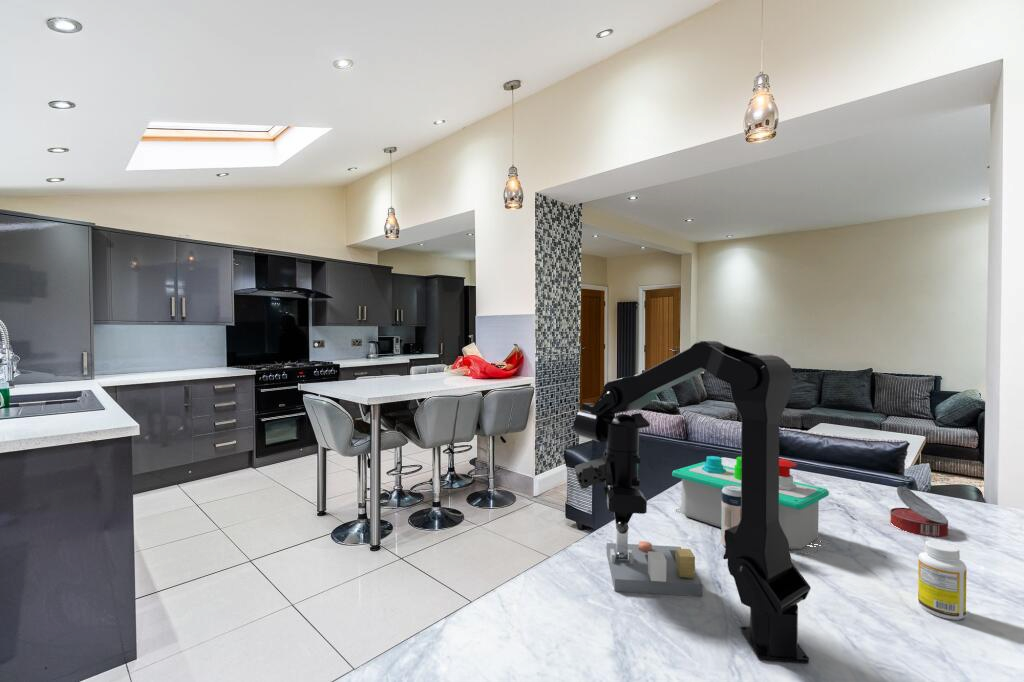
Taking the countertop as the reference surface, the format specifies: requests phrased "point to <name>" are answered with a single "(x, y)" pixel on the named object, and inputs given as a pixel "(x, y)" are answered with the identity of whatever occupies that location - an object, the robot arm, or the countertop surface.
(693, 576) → the brushed brass brick
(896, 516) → the canned food
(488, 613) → the countertop surface
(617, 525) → the toggle lever
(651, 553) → the white block
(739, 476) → the control panel
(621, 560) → the panel
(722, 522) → the beer can
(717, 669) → the countertop surface
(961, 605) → the supplement bottle
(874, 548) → the countertop surface
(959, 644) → the countertop surface
